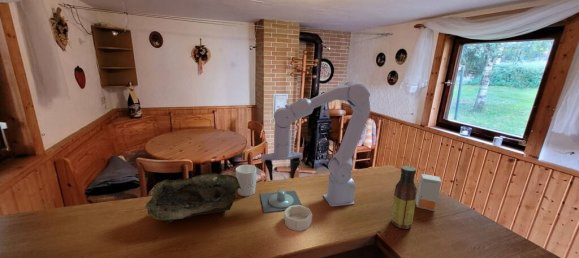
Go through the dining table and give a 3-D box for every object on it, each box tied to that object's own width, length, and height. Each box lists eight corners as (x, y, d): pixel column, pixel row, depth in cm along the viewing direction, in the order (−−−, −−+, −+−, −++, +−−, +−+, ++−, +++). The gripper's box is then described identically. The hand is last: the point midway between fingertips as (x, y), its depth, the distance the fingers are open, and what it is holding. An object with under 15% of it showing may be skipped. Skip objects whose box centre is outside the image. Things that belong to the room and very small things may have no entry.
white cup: (258, 187, 97) (258, 165, 95) (253, 198, 90) (253, 174, 87) (239, 186, 98) (239, 163, 95) (233, 196, 90) (232, 172, 88)
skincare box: (416, 207, 87) (422, 178, 84) (415, 201, 91) (420, 173, 88) (435, 211, 85) (442, 181, 82) (433, 205, 89) (439, 176, 86)
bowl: (306, 213, 82) (306, 204, 81) (314, 229, 74) (315, 219, 73) (282, 216, 80) (282, 206, 79) (288, 232, 72) (288, 222, 71)
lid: (289, 193, 93) (290, 184, 92) (296, 206, 85) (296, 197, 84) (266, 195, 91) (266, 186, 90) (271, 209, 82) (271, 200, 81)
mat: (294, 191, 95) (294, 190, 95) (303, 208, 84) (303, 207, 84) (260, 194, 92) (260, 193, 92) (264, 212, 81) (264, 211, 81)
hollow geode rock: (240, 219, 85) (239, 178, 92) (242, 213, 74) (240, 167, 81) (152, 228, 77) (158, 183, 84) (140, 222, 67) (148, 171, 74)
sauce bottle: (410, 220, 80) (420, 165, 74) (412, 232, 74) (424, 174, 69) (389, 216, 82) (397, 162, 76) (390, 227, 76) (399, 170, 71)
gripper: (299, 138, 88) (298, 172, 91) (260, 140, 84) (260, 175, 88) (304, 144, 81) (303, 180, 85) (262, 146, 78) (262, 184, 81)
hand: (281, 178), depth 86 cm, fingers open, 7 cm apart
